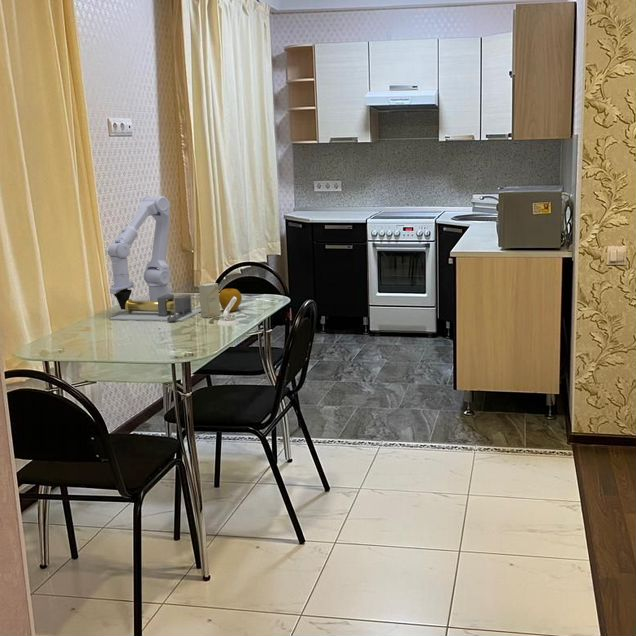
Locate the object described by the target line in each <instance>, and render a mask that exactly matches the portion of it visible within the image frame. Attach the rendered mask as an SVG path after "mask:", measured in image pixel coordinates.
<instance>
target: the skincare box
mask: <svg viewBox="0 0 636 636" xmlns="http://www.w3.org/2000/svg"><path fill="white" fill-rule="evenodd" d="M198 291H199V292H198V293H199V302H200V310H201V313H200V317H201V318H205V317H208V318H207V319H210V317H211V318H215V317H219V316H221V304H220V301H219V294H220V291H219V283H217V282H215V283H214V282H207V283H204V284H203V283H202V284H199V285H198ZM218 315H219V316H218ZM214 316H215V317H214Z"/></svg>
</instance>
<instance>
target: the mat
mask: <svg viewBox="0 0 636 636" xmlns="http://www.w3.org/2000/svg"><path fill="white" fill-rule="evenodd" d="M199 312H201V309H192V313H190V314H188V315H186V316H184V317H182V318H180V319H177V320H175V321H174V322H180V321H182V322H184V321H186V320H188V319H190V318H192V317H194V316H196V315H198V314H197V313H199ZM175 313H176V312H175ZM195 314H196V315H195ZM199 314H200V313H199ZM171 315H174V313H173V314H171ZM193 315H194V316H193ZM191 316H192V317H191ZM189 317H190V318H189ZM167 318H169V316H166V317H162V316H159V312H139V311H132V313H127V312H126V311H125V312H123V313H120V314H117V315H115V316H112V317H110V318H109V319H108V321H127V320H141V322H169V321H168V320H167ZM187 318H188V319H187ZM185 319H186V320H185ZM155 320H156V321H155ZM161 320H162V321H161ZM183 320H184V321H183Z"/></svg>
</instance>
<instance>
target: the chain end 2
mask: <svg viewBox="0 0 636 636" xmlns="http://www.w3.org/2000/svg"><path fill="white" fill-rule="evenodd" d="M174 301H175V312H176V313H174V315H169V318H167V320H168V321H167V322H176V321H175V320H177V319H180V318H182V317H184V316H186V315H188V314H190V313H192V310H193V308H192V307H193V306H192V297H191V294H180V295H179V296H176V297H174Z"/></svg>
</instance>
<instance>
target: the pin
mask: <svg viewBox="0 0 636 636" xmlns="http://www.w3.org/2000/svg"><path fill="white" fill-rule="evenodd" d="M166 305H167V312H175V300H174V301H166ZM124 310H125V312H127V313H132V311H139V312H159V311H158V301H150V300H132V299H130V298H129V299H128V300H127V301H126V303H125V309H124Z"/></svg>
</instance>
